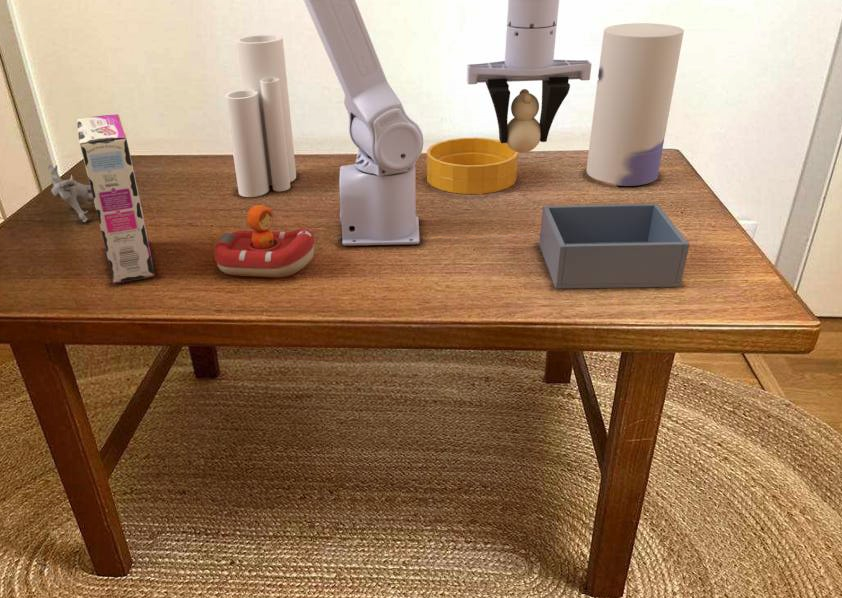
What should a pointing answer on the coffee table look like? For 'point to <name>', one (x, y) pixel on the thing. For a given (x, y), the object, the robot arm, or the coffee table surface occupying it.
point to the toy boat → (264, 248)
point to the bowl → (471, 165)
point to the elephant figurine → (70, 191)
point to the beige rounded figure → (524, 123)
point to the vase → (261, 117)
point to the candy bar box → (115, 197)
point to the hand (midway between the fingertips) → (522, 140)
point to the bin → (612, 246)
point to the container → (633, 102)
